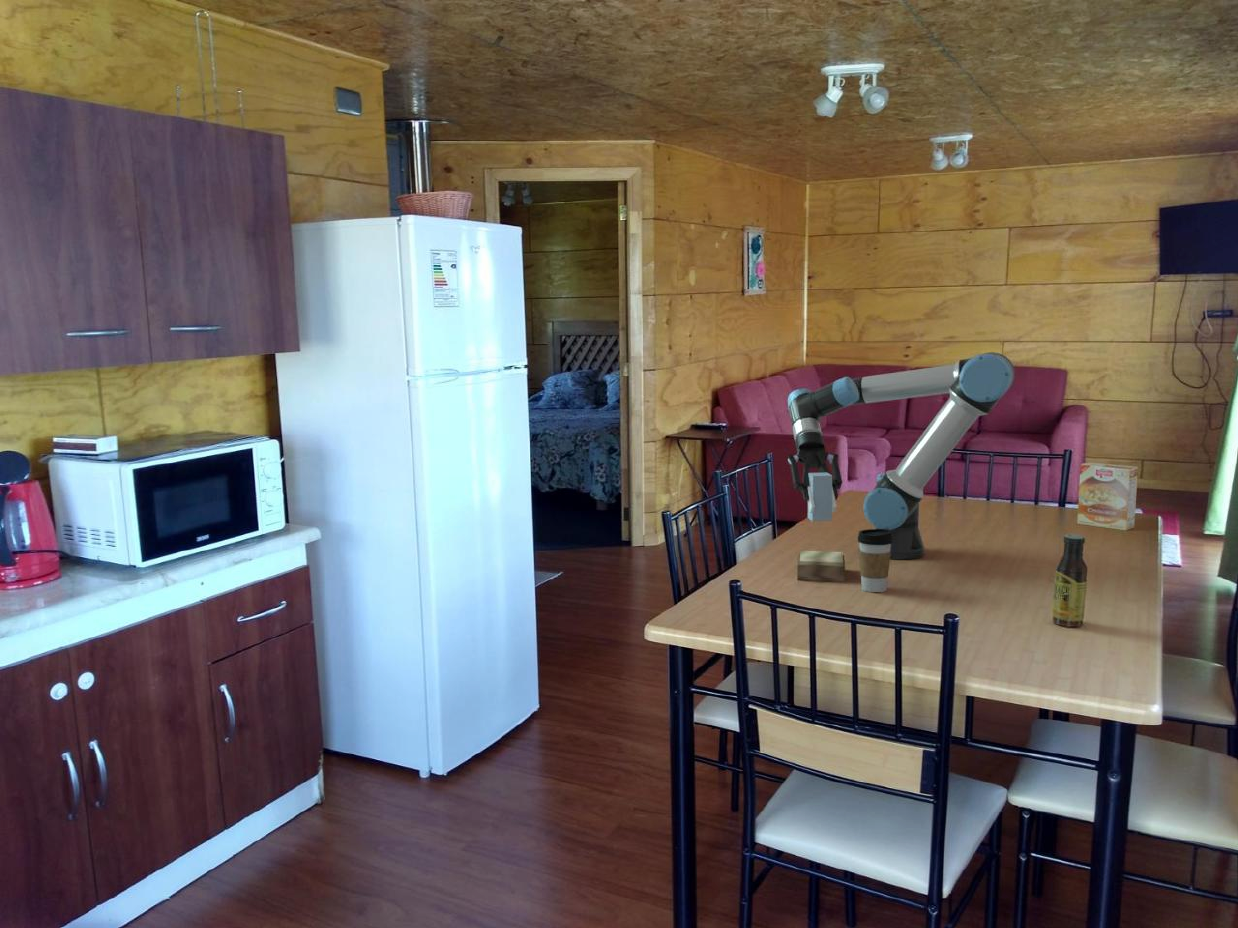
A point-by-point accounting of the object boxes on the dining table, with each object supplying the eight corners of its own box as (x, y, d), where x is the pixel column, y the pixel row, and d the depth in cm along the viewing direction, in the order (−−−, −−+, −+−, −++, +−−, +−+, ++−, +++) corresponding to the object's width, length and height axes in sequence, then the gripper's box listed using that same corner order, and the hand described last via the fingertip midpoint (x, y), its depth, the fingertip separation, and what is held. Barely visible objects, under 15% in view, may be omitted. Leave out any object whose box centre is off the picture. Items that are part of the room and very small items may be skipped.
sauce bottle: (1046, 620, 207) (1050, 532, 204) (1073, 618, 207) (1078, 531, 204) (1062, 629, 200) (1067, 539, 197) (1090, 628, 201) (1095, 538, 198)
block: (826, 516, 248) (827, 472, 246) (831, 520, 243) (832, 475, 241) (807, 517, 247) (808, 472, 246) (812, 521, 243) (813, 476, 241)
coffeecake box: (1076, 524, 300) (1079, 464, 297) (1085, 520, 304) (1088, 461, 301) (1126, 531, 289) (1130, 468, 286) (1134, 527, 293) (1138, 466, 290)
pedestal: (843, 569, 252) (844, 551, 251) (844, 581, 240) (845, 562, 239) (798, 567, 254) (798, 550, 253) (797, 579, 243) (797, 561, 242)
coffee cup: (893, 594, 228) (894, 535, 225) (857, 593, 229) (858, 534, 227) (890, 585, 236) (891, 527, 234) (855, 584, 238) (856, 526, 235)
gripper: (838, 446, 258) (854, 516, 244) (773, 447, 257) (786, 518, 244) (844, 429, 252) (861, 500, 238) (778, 430, 251) (791, 502, 237)
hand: (823, 509), depth 241 cm, fingers closed on block, 5 cm apart
